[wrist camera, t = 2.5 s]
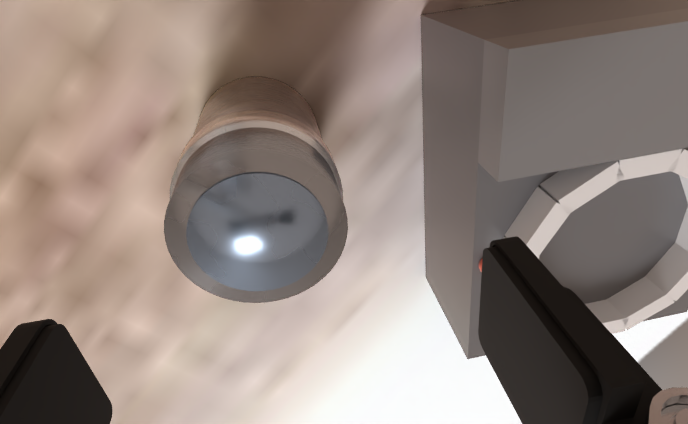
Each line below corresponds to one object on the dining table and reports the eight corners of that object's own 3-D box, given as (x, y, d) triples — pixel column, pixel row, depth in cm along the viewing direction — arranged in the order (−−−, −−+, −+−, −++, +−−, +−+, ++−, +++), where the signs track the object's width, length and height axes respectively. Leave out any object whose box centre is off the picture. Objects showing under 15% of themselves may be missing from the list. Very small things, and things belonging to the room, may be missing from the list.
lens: (178, 83, 18) (126, 167, 11) (311, 63, 18) (342, 131, 11) (213, 200, 21) (190, 324, 14) (328, 180, 21) (361, 290, 14)
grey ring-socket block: (421, 15, 18) (520, 54, 11) (667, -22, 19) (900, -7, 12) (425, 277, 25) (487, 398, 18) (603, 241, 26) (725, 344, 19)
